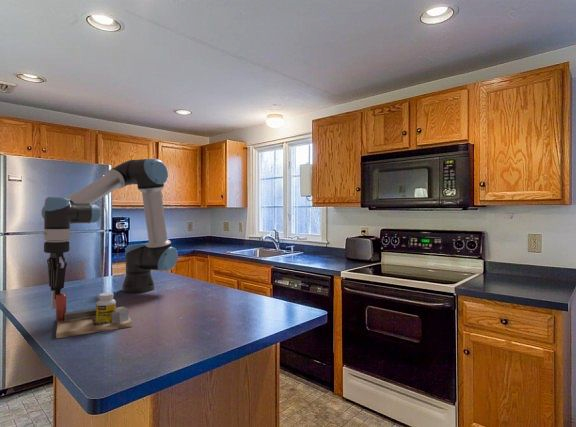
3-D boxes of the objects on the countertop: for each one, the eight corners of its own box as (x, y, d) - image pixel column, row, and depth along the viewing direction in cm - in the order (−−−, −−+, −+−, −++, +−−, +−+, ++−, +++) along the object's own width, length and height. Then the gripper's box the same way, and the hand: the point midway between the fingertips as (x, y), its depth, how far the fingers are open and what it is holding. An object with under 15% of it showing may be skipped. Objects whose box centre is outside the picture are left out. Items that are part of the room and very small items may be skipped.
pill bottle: (95, 329, 120) (95, 296, 120) (96, 323, 125) (96, 292, 125) (116, 326, 123) (115, 294, 123) (115, 321, 128) (115, 291, 128)
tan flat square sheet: (123, 310, 142) (123, 305, 142) (131, 326, 123) (131, 320, 123) (58, 319, 130) (58, 314, 130) (56, 338, 111) (56, 332, 111)
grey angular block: (120, 323, 126) (120, 307, 126) (128, 323, 126) (128, 308, 125) (111, 328, 121) (111, 311, 121) (119, 328, 121) (119, 312, 121)
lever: (107, 311, 132) (107, 287, 132) (109, 314, 129) (109, 289, 129) (55, 319, 123) (55, 293, 122) (56, 322, 120) (56, 296, 120)
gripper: (38, 240, 125) (38, 306, 126) (50, 243, 117) (49, 313, 117) (62, 239, 131) (62, 302, 131) (75, 241, 123) (74, 309, 123)
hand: (56, 307), depth 124 cm, fingers closed
